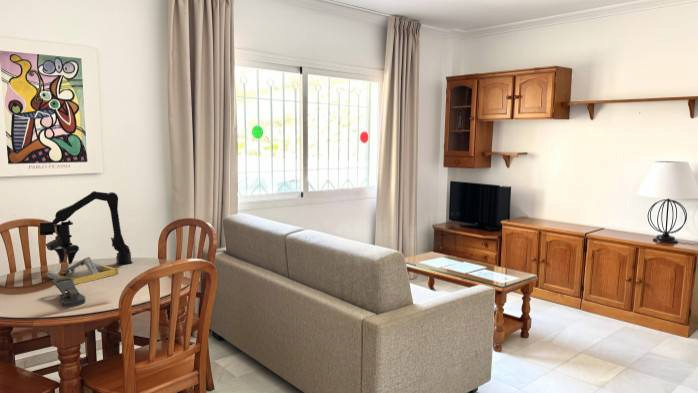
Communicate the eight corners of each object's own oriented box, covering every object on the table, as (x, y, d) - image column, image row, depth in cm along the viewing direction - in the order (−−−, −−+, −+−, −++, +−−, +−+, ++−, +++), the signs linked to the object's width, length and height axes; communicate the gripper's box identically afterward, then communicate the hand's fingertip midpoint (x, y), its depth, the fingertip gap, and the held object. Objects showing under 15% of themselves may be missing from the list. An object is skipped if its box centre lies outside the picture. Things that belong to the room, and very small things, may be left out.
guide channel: (93, 266, 263) (93, 262, 263) (118, 274, 249) (118, 269, 249) (47, 276, 245) (47, 272, 244) (71, 285, 230) (71, 280, 230)
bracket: (85, 279, 241) (75, 261, 240) (63, 292, 244) (53, 274, 243) (99, 273, 251) (89, 256, 251) (78, 285, 254) (68, 268, 254)
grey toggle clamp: (72, 275, 223) (86, 288, 204) (73, 290, 224) (87, 303, 205) (49, 279, 217) (62, 292, 198) (51, 294, 218) (63, 308, 199)
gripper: (38, 234, 254) (41, 263, 256) (55, 238, 243) (57, 268, 245) (61, 230, 263) (64, 259, 265) (78, 234, 252) (80, 264, 254)
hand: (66, 262), depth 257 cm, fingers open, 9 cm apart
